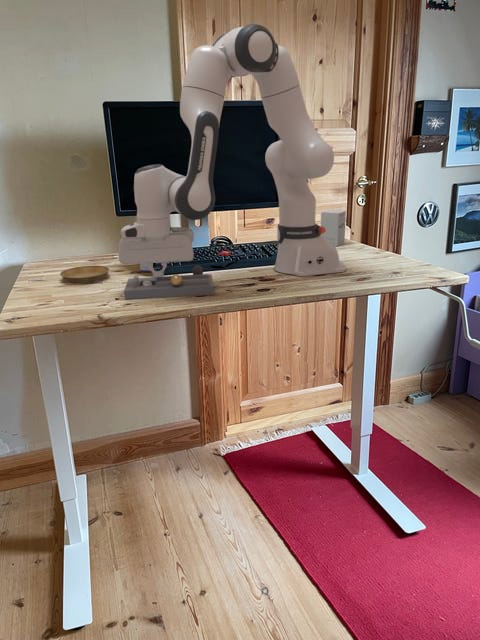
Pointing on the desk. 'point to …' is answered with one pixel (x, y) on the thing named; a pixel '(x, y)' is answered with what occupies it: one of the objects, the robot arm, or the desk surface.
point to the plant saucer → (85, 274)
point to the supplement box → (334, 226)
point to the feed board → (169, 287)
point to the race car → (225, 253)
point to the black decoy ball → (197, 270)
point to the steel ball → (146, 283)
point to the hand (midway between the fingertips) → (158, 277)
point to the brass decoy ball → (176, 280)
